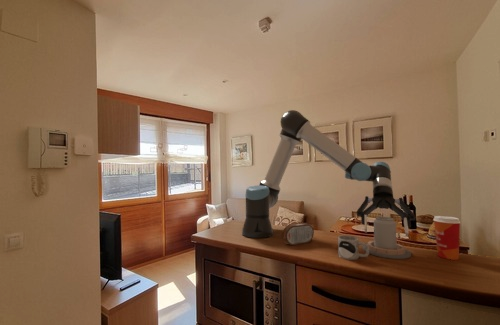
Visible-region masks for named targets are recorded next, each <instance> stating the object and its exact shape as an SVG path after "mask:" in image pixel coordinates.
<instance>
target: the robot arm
mask: <svg viewBox="0 0 500 325" xmlns="http://www.w3.org/2000/svg"><path fill="white" fill-rule="evenodd" d="M280 127H281V131H280V132H279V136H280V141H279V143H278V145H277V147H276V151H275V153H274V156H273V158H272V160H271V163H270V165H269V167H268V170H267V172H266V175H265V178H264V179H263V180H260V181H259V184H258V185H253V186H248V187H247V188H246V189H245V194H244V195H245V220H244V222H243V225H242V226H243V227H242V229H241V235H242V234H243V235H242V236H244V237H247V238H252V239H255V238H256V239H261V238H269V237H272V236H273V235H274V229H273V227H272V222H271V219H270V209H271V208H273V207H274V206H275V205H276V204H277V202H278V199H279V194H280V191H281V187H280V184H281V181H282V179H283V177H284V174H285V172H286V169H287V168H288V165H289V162H290V160H291V158H292V155H293V152H294V150H295V148H296V145H298V144H300V143H301V140H303V141H304V142H305V143H307V144H308V145H310V146H311V147H312V148H313V149H315V150H316V151H318V152H319V153H320V154H322V156H324V157H326V158H327V159H328V160H330V161H331V162H332V163H333V164H335V165H337V166H338V167H339V168H340V169H342V170H343V171H344V178H345V179H348V180H353V181H354V180H356V181H358V182H365V181H366V182H372V197H369V196H367V195H366V196H365V197H364V201H363V202H362V204H360V206H359V207H358V209H357V210H356V216H357V217H360V218H361V224H362V225H364V233H368V228H367V227H368V226H367V224H368V223H367V221H368V218H367V216H369V215H370V214H371V213H372V212H373V211H375V210H377V209H378V208H379V209H380V210H381V209H385V210H388V209H390V210H391V211H392V212H394V213H395V214H397V215H398V216H399V217H401V218H402V219H403V228H404V235H405V237H407V238H408V237H409V233H410V232H409V229H411V227H412V224H411V223H412V222H411V221H413V222H414V221H415V220H416V214H415V213H414V212H413V210H411V208H410V207H409V206H408V205H407V204H406V203H405V202H404V199H403V198H402V197H399V198H397V199H396V198H394V191H393V182H392V173H391V167H390V165H389V163H387V162H384V161H377V162H374V163H373V164H372V165H369V164H368V163H365V162H363V161H362V160H360V159H358V158H357V157H356V156H354V155H353V154H352V153H351V152H350V151H348V150H346V149H345V148H344V147H343V146H341V145H339V144H338V143H337V142H335V141H334V140H333V139H331V138H330V137H329V136H327V135H326V134H324V133H323V132H321V131H320V130H319V129H318V128H316V127H315V126H313V125H312V124H311V121H310V120H309V119H308V118H307V117H305V116H304V115H303V114H302V113H301V112H299V111H298V110H295V109H294V110H293V109H291V110H288V111H286V112H284V113H283V114H282V115H281V117H280ZM371 202H372V204H370V203H371ZM369 204H370V205H369ZM396 204H397V205H396ZM368 205H369V206H368ZM367 206H368V207H367Z"/></svg>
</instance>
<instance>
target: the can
mask: <svg viewBox="0 0 500 325" xmlns="http://www.w3.org/2000/svg"><path fill="white" fill-rule="evenodd" d="M373 241H374V246H375V247H378V248H383V249H391V250H396V249H397V244H398V243H397V242H398V241H397V222H396V221H395V218H392V217H388V216H375V219H374V220H373Z"/></svg>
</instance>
